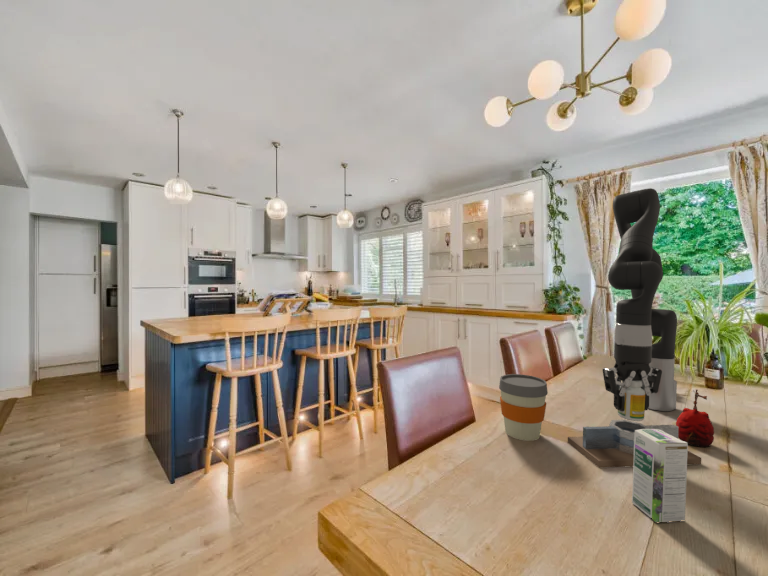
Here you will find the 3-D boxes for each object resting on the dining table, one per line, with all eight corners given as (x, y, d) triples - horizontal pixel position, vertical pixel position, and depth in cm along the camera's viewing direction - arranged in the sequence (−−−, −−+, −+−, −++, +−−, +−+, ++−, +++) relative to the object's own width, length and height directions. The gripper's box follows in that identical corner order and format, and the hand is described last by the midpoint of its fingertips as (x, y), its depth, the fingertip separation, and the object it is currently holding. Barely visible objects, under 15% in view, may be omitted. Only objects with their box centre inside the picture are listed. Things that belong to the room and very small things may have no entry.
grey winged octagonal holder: (660, 437, 90) (661, 418, 90) (692, 454, 81) (692, 433, 81) (573, 439, 88) (573, 420, 88) (596, 457, 80) (596, 436, 80)
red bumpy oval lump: (713, 443, 90) (715, 387, 90) (714, 452, 85) (715, 393, 85) (675, 434, 95) (677, 381, 95) (674, 442, 90) (675, 386, 90)
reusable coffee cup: (546, 428, 98) (547, 377, 98) (547, 447, 87) (548, 389, 87) (501, 420, 104) (501, 371, 103) (496, 438, 92) (496, 383, 92)
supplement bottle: (614, 416, 85) (615, 378, 85) (621, 411, 88) (622, 374, 88) (640, 423, 81) (642, 383, 81) (647, 418, 84) (648, 379, 84)
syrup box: (630, 502, 66) (632, 428, 65) (658, 501, 66) (660, 427, 66) (656, 524, 60) (658, 443, 60) (687, 522, 60) (689, 441, 60)
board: (656, 439, 92) (657, 434, 92) (701, 464, 80) (701, 457, 80) (567, 442, 90) (567, 436, 90) (599, 467, 78) (599, 461, 78)
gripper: (647, 339, 88) (645, 403, 89) (594, 339, 87) (593, 404, 88) (673, 344, 81) (671, 415, 81) (616, 345, 80) (614, 416, 80)
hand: (631, 409), depth 85 cm, fingers closed on supplement bottle, 5 cm apart
